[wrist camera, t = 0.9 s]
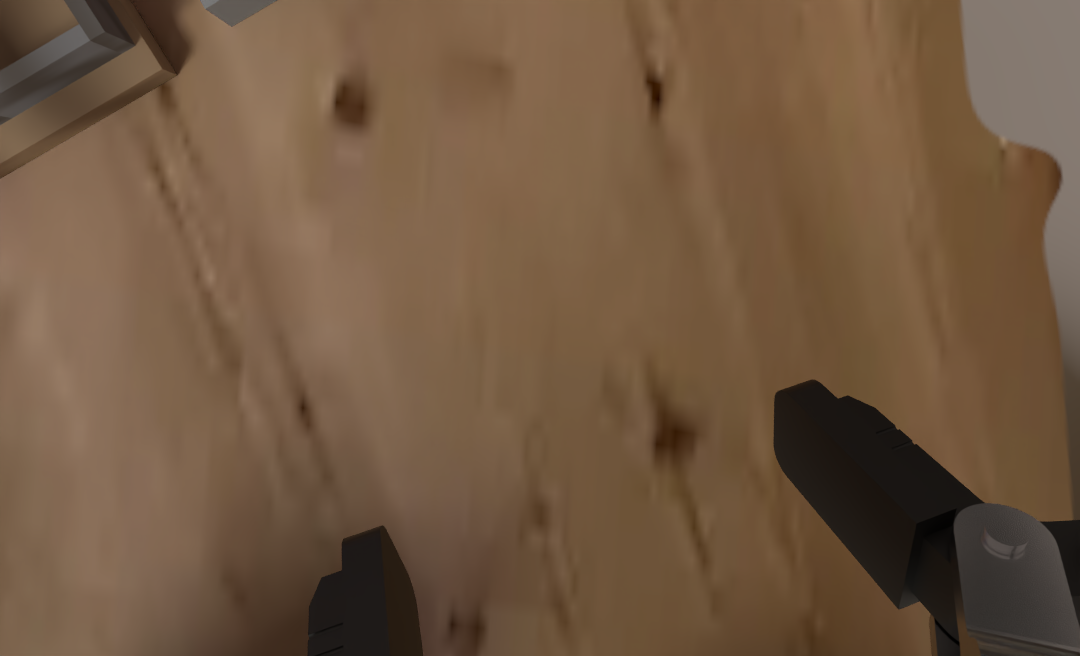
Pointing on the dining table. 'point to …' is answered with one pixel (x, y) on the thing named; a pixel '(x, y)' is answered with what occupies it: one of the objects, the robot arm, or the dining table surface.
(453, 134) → the dining table surface
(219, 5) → the box
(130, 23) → the dark grey double holder
